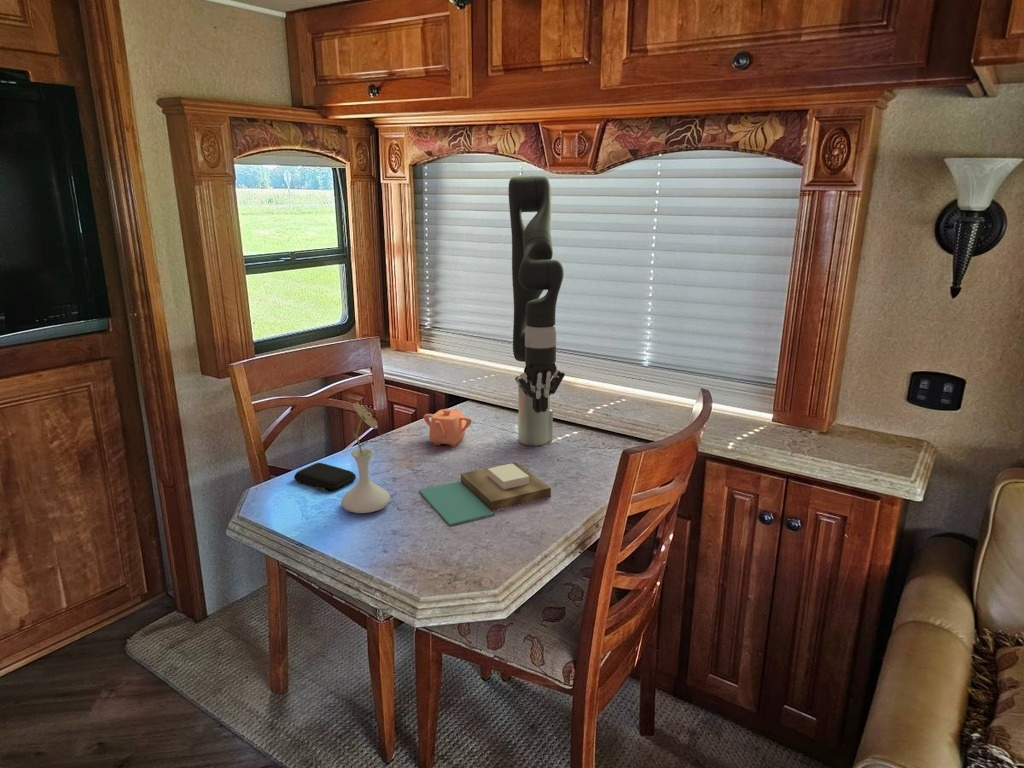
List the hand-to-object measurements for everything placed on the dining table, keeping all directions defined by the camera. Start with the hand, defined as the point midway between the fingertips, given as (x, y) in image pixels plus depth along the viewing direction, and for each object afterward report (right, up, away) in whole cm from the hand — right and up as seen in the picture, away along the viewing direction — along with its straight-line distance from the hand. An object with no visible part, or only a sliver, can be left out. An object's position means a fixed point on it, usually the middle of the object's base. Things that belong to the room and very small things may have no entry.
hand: (540, 411), depth 169 cm
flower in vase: (-42, -22, -7) cm, 48 cm away
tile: (-8, -17, +1) cm, 19 cm away
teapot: (-26, -11, +33) cm, 43 cm away
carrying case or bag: (-55, -19, +6) cm, 59 cm away
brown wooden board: (-9, -20, +1) cm, 21 cm away
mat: (-21, -22, -6) cm, 30 cm away
